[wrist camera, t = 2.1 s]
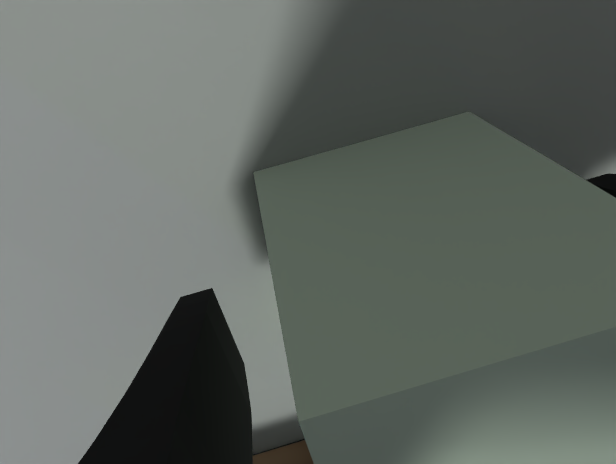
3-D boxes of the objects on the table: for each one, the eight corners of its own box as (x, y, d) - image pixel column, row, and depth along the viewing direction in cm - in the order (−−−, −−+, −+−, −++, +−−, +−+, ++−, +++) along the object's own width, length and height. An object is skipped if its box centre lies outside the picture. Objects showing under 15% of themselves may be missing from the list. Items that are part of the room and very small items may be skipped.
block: (468, 111, 10) (761, 283, 4) (477, 284, 12) (676, 528, 7) (253, 171, 9) (298, 422, 4) (304, 334, 12) (373, 624, 7)
